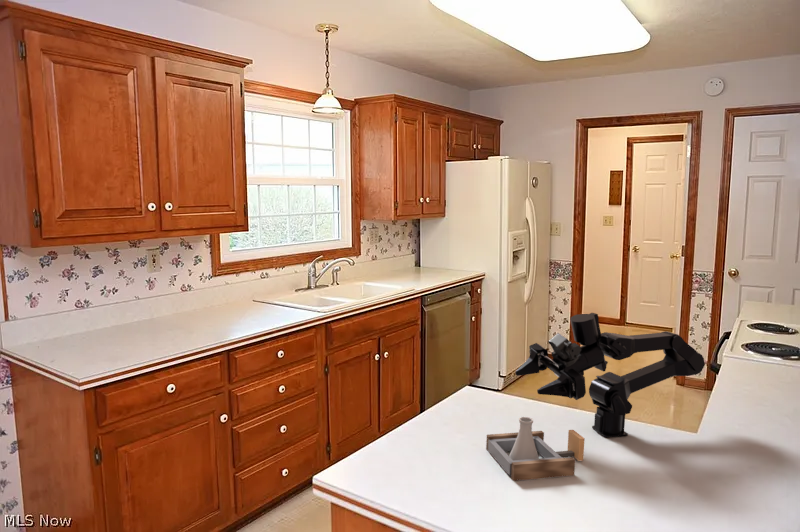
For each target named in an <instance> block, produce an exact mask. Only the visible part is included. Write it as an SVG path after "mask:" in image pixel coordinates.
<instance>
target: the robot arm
mask: <svg viewBox="0 0 800 532" xmlns="http://www.w3.org/2000/svg"><path fill="white" fill-rule="evenodd" d="M569 320H570V325H571V330H572V334H573V335H572V336H573V339H574V340H573V341H574V342H571V341H570V340H569V338H567V337H565V336H563V335H562V334H561V333H556V334H555V335H553V336H552V337H551V338H550V339H549V340H548V341H547V343H548V344H549V345H550V346H551V348H552V350H553V351H551V357H552V358H550V357H549V353H548V349H546V348H545V347H543V346H542V345H540V344H539V343H537V342H535V343H532V344H531V345H529V348H528V349H529V351H528V352H529V357H528V358H527V359H526V360H525V362H524V363H523V364H522V365H520V366H519V367H518V369H516V370H515V376H516V377H517V376H525V375H527V376H528V375H532V374H540V371H541V372H542V371H545V370H547V368H548V369H549V370H550V371H551V372H553V374H554V375H555V376H556V377H558V378H557V379H554V380H553V381H551V382H549V383H547V384H545V385H543V386H541V387H539V388H538V389H537V394H538V395H543V396H545V395H546V396H557V397H564V398H569V399H572V398H573V399H575V400H576V401H578V400H580V399H582V398H584V397H585V396H586V394H587V391H586V378H585V373H584V372H585V371H588V370H589V369H591V368H595V369H597V370H599V371H602V372H605V373H604V374H601V375H596V376H595V377H596V378H595V379H593V380H591V382H590V385H589V387H588V394H589V396H590V398H591V401H592V404H593V405H596V406H597V407H596V412H595V413H594V424H593V425H592V426H591V429H593V430H594V431H596V432H597V433H598V434H600V435H601V436H603V438H616V437H627V436H628V435H629V433H628V432H627V431H625V426H626V425H625V424H626V423H625V421H626V415H628V414H630V413H631V412H632V409H633V404H632V403H631V402H630V401H629V398H630V397H631V394H633V393H635V392H639V391H640V390H643V389H645V388H648V387H650V386H653V385H656V384H658V383H660V382H663V381H666V380H668V379H670V378H672V377H690V376H695V375H699V374H700V373H702V372H703V370H704V368H705V359H704V356H703V355H702V354H701V353H700V352H698V351H697V350H696V349H695V348H694V347H692V346H691V345H690V344H689V343H688V342H686V341H685V340H684V338H683V337H682V336H680V334H678V333H674V332H671V331H661V332H652V333H642V334H633V335H632V334H631V335H630V334H629V335H626V334H621V333H614V332H607V331H606V332H601V328H600V321H599V314H598V313H595V312H590V313H582V314H581V313H580V314H578V313H577V314H574V315H573V316H571V317H570V318H569ZM577 343H579V344H577ZM653 351H654V352H655V351H663V354H664V357H663V359H661V360H659V361H656V362H654V363H651V364H649V365H646V366H644V367H641V368H638V369H636V370H633V371H632V372H628V373H625V374H623V375H618V374H616V373H615V372H611V371H607V372H606V370H607V365H608V363H609V361H608V360H606V358H605V357H608V358H611V359H613V360H615V361H621V360H625V359H628V358H631V357H632V356H633V355H634V354H638V353H644V352H645V353H646V352H653Z"/></svg>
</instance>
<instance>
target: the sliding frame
mask: <svg viewBox="0 0 800 532" xmlns="http://www.w3.org/2000/svg"><path fill="white" fill-rule="evenodd" d="M567 435H568V436H567V450H561V451H560V450H559V451H558V450H557V451H555V449H553V448H552V447H551V446H549V444H547V443H546V442H545V441H543V440H542V439H541V438H539V437H538V436H533V440H534V444H535V447H536V450H537V453H538V455H540V456H542V458H541V457H540V458H539V459H528V460H516V461H513V460H512V459H511V458H510V457H509V455H508V454H507V452H511V450H512V448H513V446H514V444H515V441H516V439H517V438H505V439H492V440H488V451H487V452H489V454H490V455H491V456H492V457H493V458H494V459H495V461H496V462H497V463H498V464H499V465H500V466H501V467H502V469H503V470H504V471H505V472H506V473H507V474H508V476H511V469H512V462H523V461H535V460H547V459H558V458H570V457H573V458H574V459H575V460H577V461H578V462H580V461H582V462H583V461H584V456H585V455H584V453H585V451H584V450H585V442H586V441H585V437H583V436H582V435H581V434H580V433H578V432H577V431H576V430H575V429H568V434H567Z"/></svg>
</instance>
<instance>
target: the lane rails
mask: <svg viewBox="0 0 800 532" xmlns="http://www.w3.org/2000/svg"><path fill="white" fill-rule="evenodd" d="M518 433H519V431H518V432H508V433H507V432H505V433H493V434H486V441H485V442H486V444H485V446H486V447H485V449H486V451H487V452H489V451H488V440H492V439H505V438H517V436H518ZM532 436H538V437H539V438H541V439H542V440H543V441H544V439H545V432H544V431H542V430H535V431H534V430H532ZM544 442H545V441H544ZM575 467H576V458H574V457H567V458H558V459H547V460H535V461H523V462H512V469H511V475H510V479H511V480H512V482H516V481H517V482H518V481H525V480H526V481H527V480H537V479H548V478H560V477H561V478H562V477H573V476H575V474H576V473H575V471H576V468H575Z"/></svg>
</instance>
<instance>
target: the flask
mask: <svg viewBox="0 0 800 532" xmlns="http://www.w3.org/2000/svg"><path fill="white" fill-rule="evenodd" d="M518 421H519V429H518V432H519V433H518V436H517V439H516V441H515V444H514V446H513V448H512V450H511V451H510V453H509V455H508V456H509V457H510V458H511V459H512V460H513V461H516V460H528V459H540V458H539V453H538V452H537V450H536V447H535V444H534V440H533V436H532V431H533V429H532V428H533V427H532V425H533V423H534V419H533V418H531V417H528V416H521V417H519V418H518Z"/></svg>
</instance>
